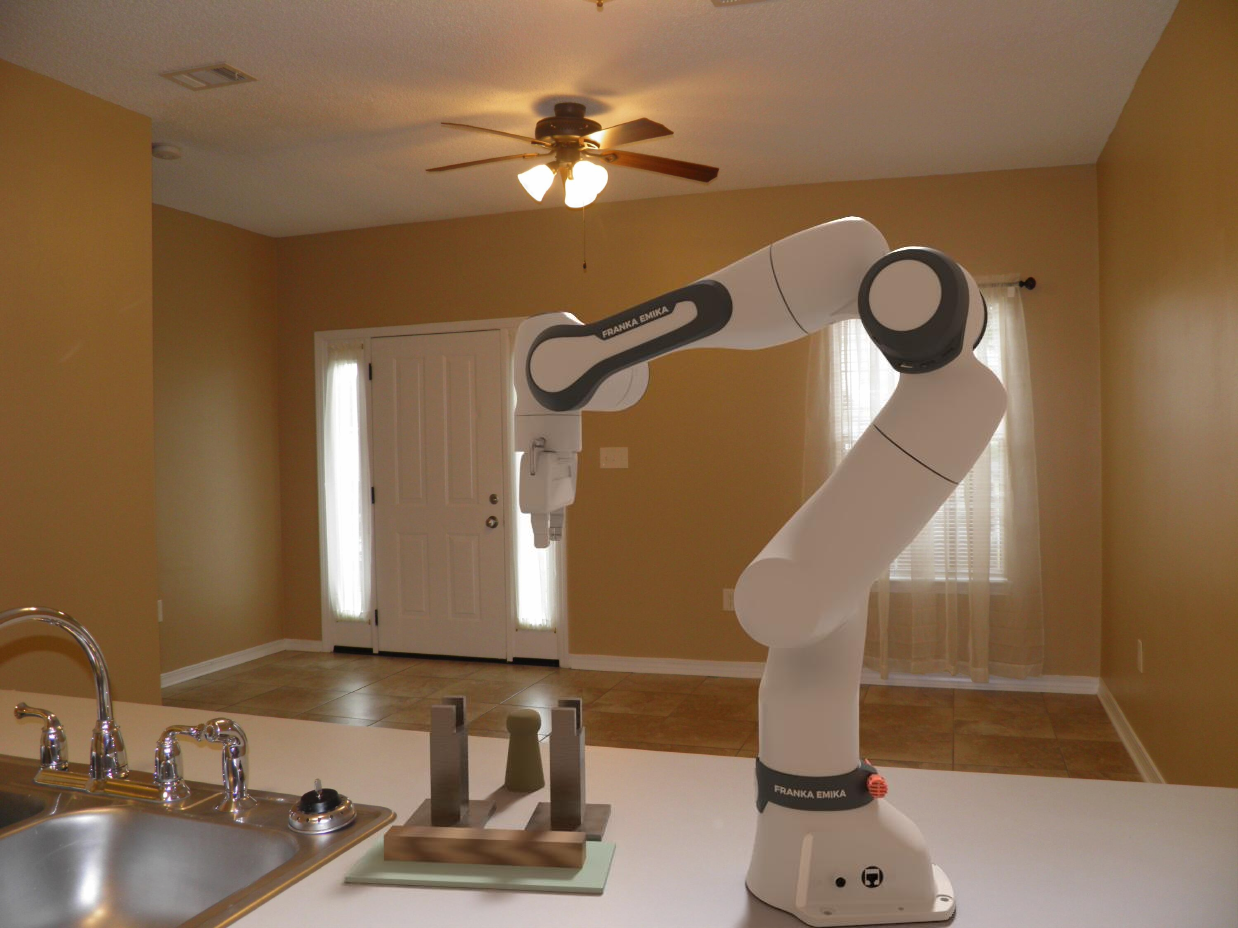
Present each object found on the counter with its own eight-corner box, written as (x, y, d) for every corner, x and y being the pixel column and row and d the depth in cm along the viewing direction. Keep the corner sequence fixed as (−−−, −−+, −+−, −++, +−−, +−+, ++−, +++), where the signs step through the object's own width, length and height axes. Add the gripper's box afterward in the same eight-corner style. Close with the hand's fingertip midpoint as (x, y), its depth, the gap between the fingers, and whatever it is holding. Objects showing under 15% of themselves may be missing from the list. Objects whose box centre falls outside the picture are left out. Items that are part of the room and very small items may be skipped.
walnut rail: (586, 856, 110) (585, 832, 110) (582, 868, 107) (582, 842, 107) (393, 849, 113) (392, 825, 113) (384, 860, 110) (383, 835, 110)
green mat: (615, 846, 115) (615, 841, 115) (603, 893, 103) (602, 887, 103) (383, 837, 118) (383, 833, 118) (344, 881, 106) (344, 876, 106)
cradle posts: (610, 811, 126) (609, 694, 125) (601, 842, 116) (599, 715, 115) (426, 805, 129) (424, 690, 128) (401, 835, 119) (399, 711, 119)
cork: (525, 795, 132) (524, 718, 132) (495, 786, 136) (494, 712, 135) (553, 782, 137) (552, 709, 137) (523, 774, 140) (522, 702, 140)
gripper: (557, 437, 110) (558, 553, 110) (583, 439, 130) (584, 536, 131) (505, 438, 111) (507, 552, 111) (539, 439, 131) (541, 536, 131)
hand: (549, 544), depth 121 cm, fingers open, 8 cm apart
